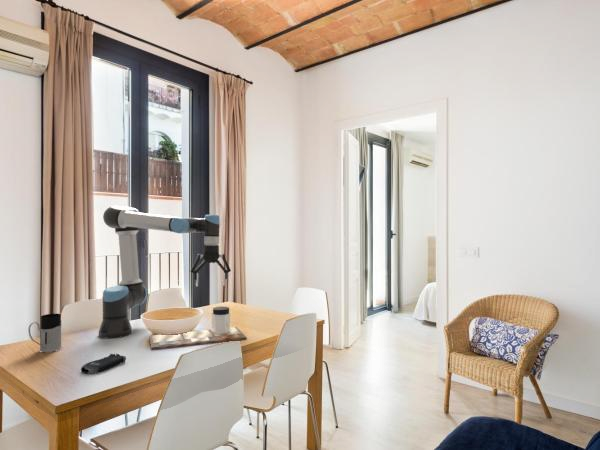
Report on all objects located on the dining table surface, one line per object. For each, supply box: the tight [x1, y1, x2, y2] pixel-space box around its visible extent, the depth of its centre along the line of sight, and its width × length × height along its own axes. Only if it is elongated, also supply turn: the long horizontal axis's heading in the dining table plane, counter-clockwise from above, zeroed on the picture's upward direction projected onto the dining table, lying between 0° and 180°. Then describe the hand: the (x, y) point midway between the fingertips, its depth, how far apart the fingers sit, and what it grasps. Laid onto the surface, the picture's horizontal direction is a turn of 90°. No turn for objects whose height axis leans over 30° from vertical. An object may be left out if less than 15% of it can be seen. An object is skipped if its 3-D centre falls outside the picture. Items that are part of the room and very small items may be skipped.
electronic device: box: [80, 353, 127, 375], centre depth 152 cm, size 9×6×15 cm
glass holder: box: [28, 313, 63, 353], centre depth 171 cm, size 9×14×15 cm, turn 160°
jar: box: [211, 306, 231, 334], centre depth 198 cm, size 9×8×12 cm
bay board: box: [149, 326, 248, 351], centre depth 191 cm, size 43×20×1 cm, turn 113°
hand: (210, 285), depth 203 cm, fingers open, 13 cm apart
